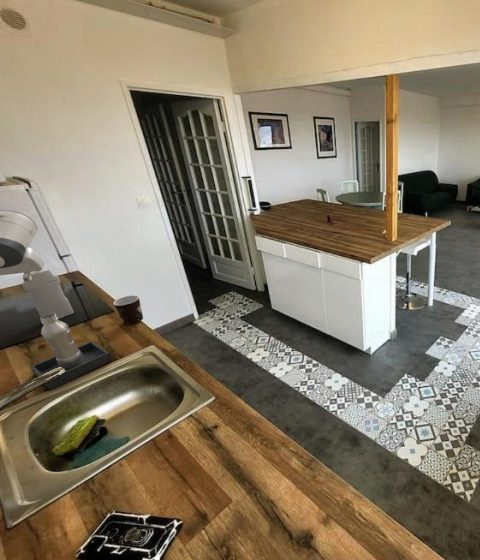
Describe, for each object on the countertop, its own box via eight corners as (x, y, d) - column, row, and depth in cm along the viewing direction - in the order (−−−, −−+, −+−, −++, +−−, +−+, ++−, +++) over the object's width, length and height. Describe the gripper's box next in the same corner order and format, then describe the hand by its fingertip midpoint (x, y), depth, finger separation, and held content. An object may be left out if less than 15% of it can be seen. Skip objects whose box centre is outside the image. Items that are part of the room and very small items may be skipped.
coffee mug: (134, 314, 140) (126, 294, 135) (151, 315, 139) (144, 296, 134) (109, 328, 129) (100, 308, 125) (127, 330, 128) (119, 309, 124)
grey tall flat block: (73, 310, 141) (52, 266, 132) (76, 313, 139) (54, 268, 130) (40, 320, 133) (15, 274, 124) (43, 323, 131) (17, 277, 122)
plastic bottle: (85, 356, 112) (61, 308, 103) (87, 365, 107) (62, 316, 99) (60, 364, 107) (33, 315, 99) (61, 374, 103) (33, 324, 95)
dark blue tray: (50, 390, 98) (45, 381, 97) (34, 374, 104) (29, 366, 103) (112, 360, 111) (109, 352, 110) (95, 348, 117) (92, 340, 116)
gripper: (-79, 263, 84) (-45, 295, 93) (29, 253, 95) (50, 283, 104) (-73, 247, 87) (-41, 280, 97) (32, 240, 98) (51, 270, 108)
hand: (7, 282), depth 101 cm, fingers open, 8 cm apart
